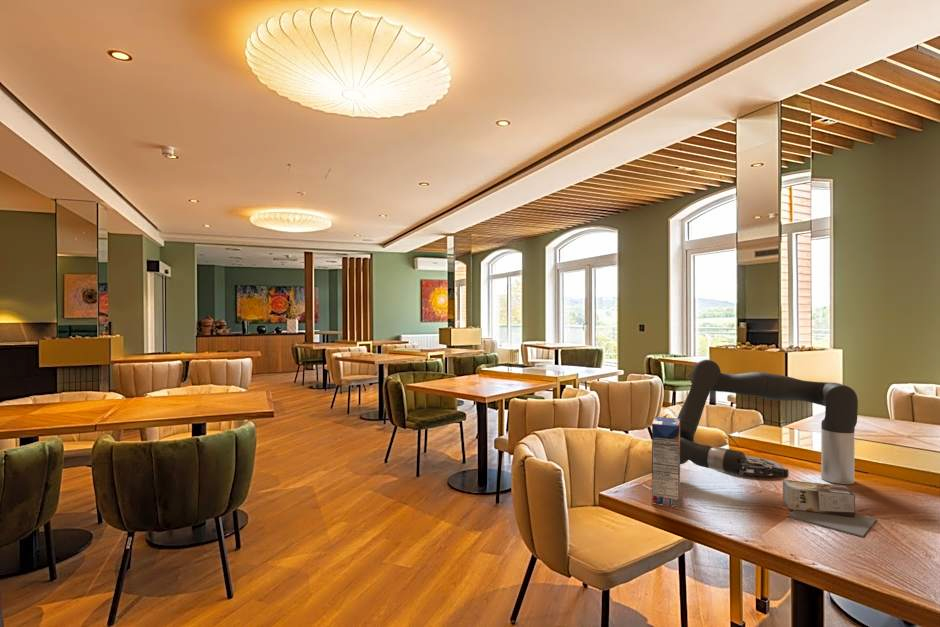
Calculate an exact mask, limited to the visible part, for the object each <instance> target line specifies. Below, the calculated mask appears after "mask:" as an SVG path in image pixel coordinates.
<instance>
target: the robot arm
mask: <svg viewBox="0 0 940 627" xmlns="http://www.w3.org/2000/svg"><path fill="white" fill-rule="evenodd" d="M689 380H690V383H691V386H690V389H689V391H688V394H687V396H686V398H685V400H684V402H683V405H682V406H681V409H680V411H679V413H678V415H677V419H680V465H684V464H686V463H687V462H688V461H690V462H692V463H693V464H694V465H696V466H698V467H703V468H707V469H710V470H714V471H717V472H721V473H725V474H729V475H732V476H733V475H734V476H739V477H740V476H742V475H744V473H745V472H746V475H747V476H759V477H769V476H777V477H781V478H785V479H786V478H788V477H789V472H790V471H789V469H788V468H784V467H783V468H779V467H775V466H774V464H773V463H770V462H768V461H766V460H767V459H766V460H764V459H765V458H762V459H760V461H759V460H757V459H753V458H750V459H746V457H745V455H746V454H745V453H744V452H743V451H740V450H735V449H730V448H725V447H720V446H719V447H718V446H717V447H716V446H709V445H707V444H700V443H697V442H695V440H694V439H695V434H696V432H697V429H698V428H699V425H700V421H701V418H702V415H703V412H704V408H705V405H706V404H707V400H708V398H709V395H710V393H711V392H718V393H719V392H720V393H732V394H738V395H742V396H748V397H749V396H750V397H756V398H760V399H767V400H772V401H785V402H788V401H791V402H792V401H799V402H801V401H802V402H807V403H811V404H816V405H819V406H824V407H825V409H824V410H825V411H824V413H825V414H824V415H825V416H824V419H822V420H821V423H820V424H821V428H820V429H821V431H820V432H821V434H820V435H821V441H820V442H821V443H820V445H821V446H820V447H821V448H820V449H821V451H820V452H821V455H820V456H821V457H820V461H821V463H820V464H821V465H820V468H821V471H820V473H821V474H820V476H821V477H820V478H821V479H822V480H824V481H827V482H830V483H834V484H837V485H853V484H855V453H856V452H855V450H856V449H855V446H856V445H855V444H856V443H855V442H856V439H855V430H856V429H855V428H856V426H857V423H858V411H859V410H858V409H859V405H858V404H859V400H858V396H857V393H856V391H855V390H854V389H853V388H851V387H850V386H848V385H845V384H843V383H838V382H827V381H810V380H802V379H798V378H796V377H791V376H787V375H782V374H779V373H778V374H777V373H770V372H764V371H763V372H761V371H754V372H753V371H751V372H743V373H726V372H725V373H724V372H721V368H720V366H719V364H717V363H716V361H714V360H711V359H702V360H700V361H698V362H697V363H695V365H694V367H693V369H692V371H691V373H690V376H689ZM744 471H745V472H744Z"/></svg>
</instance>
